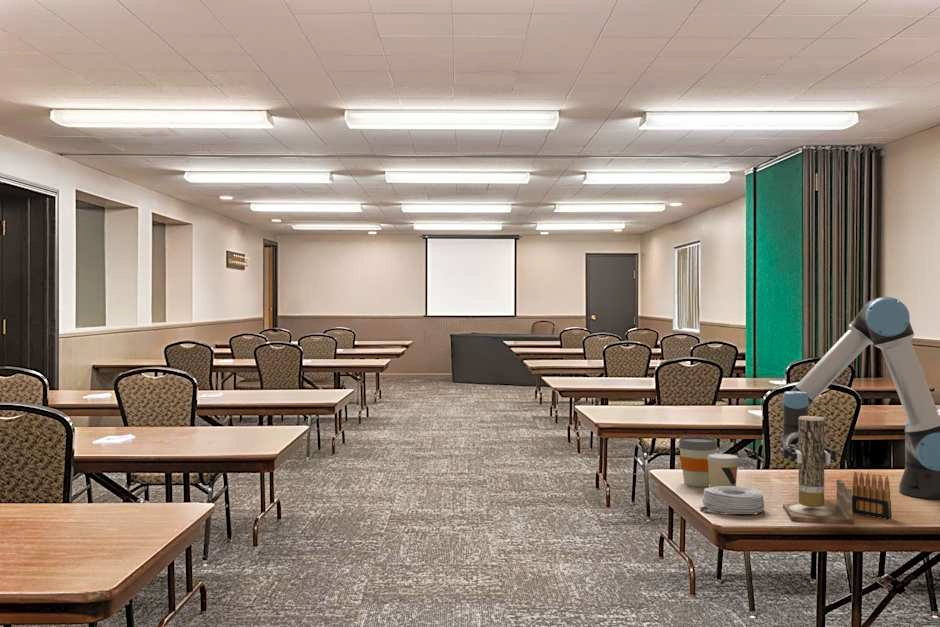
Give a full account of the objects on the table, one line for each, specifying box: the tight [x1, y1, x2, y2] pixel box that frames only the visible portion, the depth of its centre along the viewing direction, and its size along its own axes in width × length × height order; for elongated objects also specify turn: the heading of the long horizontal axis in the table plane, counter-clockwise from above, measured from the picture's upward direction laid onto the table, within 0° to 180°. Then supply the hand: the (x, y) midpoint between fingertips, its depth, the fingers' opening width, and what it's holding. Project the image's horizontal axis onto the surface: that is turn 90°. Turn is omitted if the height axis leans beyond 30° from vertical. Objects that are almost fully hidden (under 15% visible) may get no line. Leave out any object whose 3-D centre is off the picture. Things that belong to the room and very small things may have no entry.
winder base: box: [782, 479, 855, 525], centre depth 235 cm, size 16×16×9 cm
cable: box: [699, 485, 765, 515], centre depth 243 cm, size 18×18×6 cm
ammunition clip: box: [852, 471, 893, 520], centre depth 235 cm, size 11×2×12 cm, turn 40°
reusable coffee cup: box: [678, 436, 718, 487], centre depth 279 cm, size 13×13×15 cm
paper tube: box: [798, 415, 825, 507], centre depth 236 cm, size 7×7×25 cm
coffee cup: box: [707, 453, 739, 488], centre depth 264 cm, size 9×9×12 cm
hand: (814, 458), depth 231 cm, fingers closed on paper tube, 7 cm apart
